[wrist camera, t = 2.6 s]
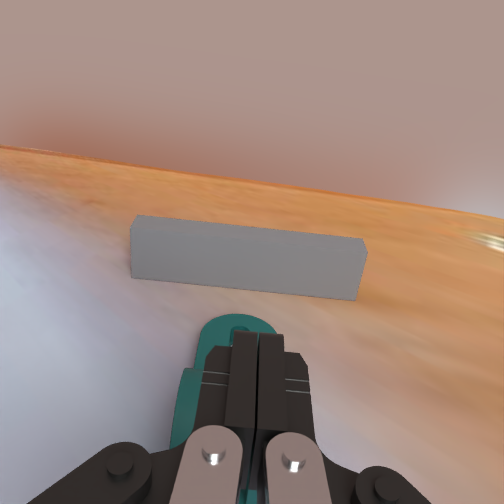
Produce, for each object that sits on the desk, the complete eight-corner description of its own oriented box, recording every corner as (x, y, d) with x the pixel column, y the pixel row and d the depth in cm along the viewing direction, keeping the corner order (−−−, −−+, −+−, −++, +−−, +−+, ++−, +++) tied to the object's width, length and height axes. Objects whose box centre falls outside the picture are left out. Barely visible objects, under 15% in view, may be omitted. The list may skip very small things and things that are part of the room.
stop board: (131, 277, 49) (130, 227, 46) (138, 263, 51) (137, 214, 48) (355, 300, 49) (367, 252, 46) (350, 285, 52) (362, 238, 49)
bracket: (279, 532, 28) (299, 446, 24) (166, 522, 27) (168, 433, 24) (275, 336, 43) (287, 265, 39) (203, 329, 43) (208, 257, 39)
